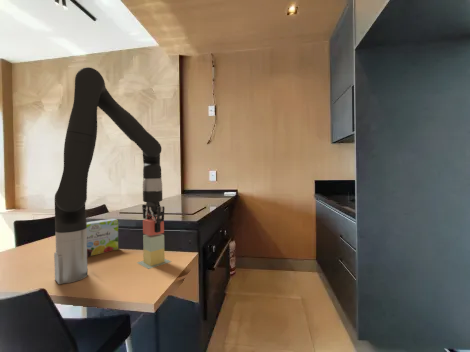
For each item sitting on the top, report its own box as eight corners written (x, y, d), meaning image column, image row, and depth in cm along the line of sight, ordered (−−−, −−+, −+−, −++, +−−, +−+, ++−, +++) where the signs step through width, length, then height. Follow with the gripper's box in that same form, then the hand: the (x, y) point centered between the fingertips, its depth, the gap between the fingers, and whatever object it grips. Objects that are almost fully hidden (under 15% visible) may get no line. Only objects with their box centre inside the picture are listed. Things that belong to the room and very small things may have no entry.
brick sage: (150, 251, 94) (150, 237, 94) (143, 248, 98) (143, 235, 98) (164, 248, 98) (164, 234, 98) (156, 245, 102) (156, 232, 102)
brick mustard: (150, 266, 94) (150, 251, 94) (143, 262, 98) (143, 248, 98) (164, 261, 98) (164, 248, 98) (157, 258, 102) (156, 245, 102)
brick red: (150, 235, 94) (150, 221, 94) (143, 233, 98) (142, 219, 98) (164, 232, 98) (163, 219, 98) (156, 230, 102) (156, 217, 102)
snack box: (69, 262, 102) (69, 226, 102) (64, 259, 106) (64, 225, 106) (119, 249, 119) (118, 218, 119) (113, 247, 123) (112, 217, 123)
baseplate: (148, 270, 91) (148, 268, 91) (136, 264, 98) (136, 262, 98) (171, 263, 98) (171, 261, 98) (158, 258, 105) (158, 256, 105)
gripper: (135, 189, 100) (136, 230, 100) (152, 190, 90) (153, 235, 90) (152, 188, 106) (153, 227, 106) (170, 189, 96) (171, 231, 96)
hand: (153, 230), depth 98 cm, fingers open, 6 cm apart
